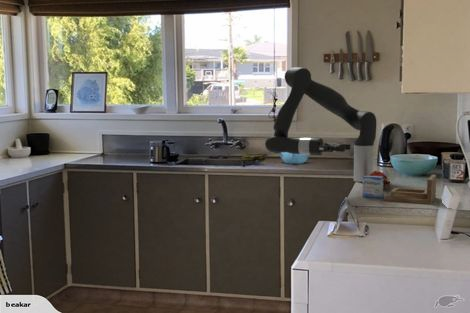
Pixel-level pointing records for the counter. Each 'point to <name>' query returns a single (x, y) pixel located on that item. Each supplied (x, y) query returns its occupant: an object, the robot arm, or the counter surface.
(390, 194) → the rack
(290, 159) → the teapot
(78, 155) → the counter surface
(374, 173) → the dragon fruit
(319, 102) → the robot arm
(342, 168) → the counter surface
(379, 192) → the medicine box
